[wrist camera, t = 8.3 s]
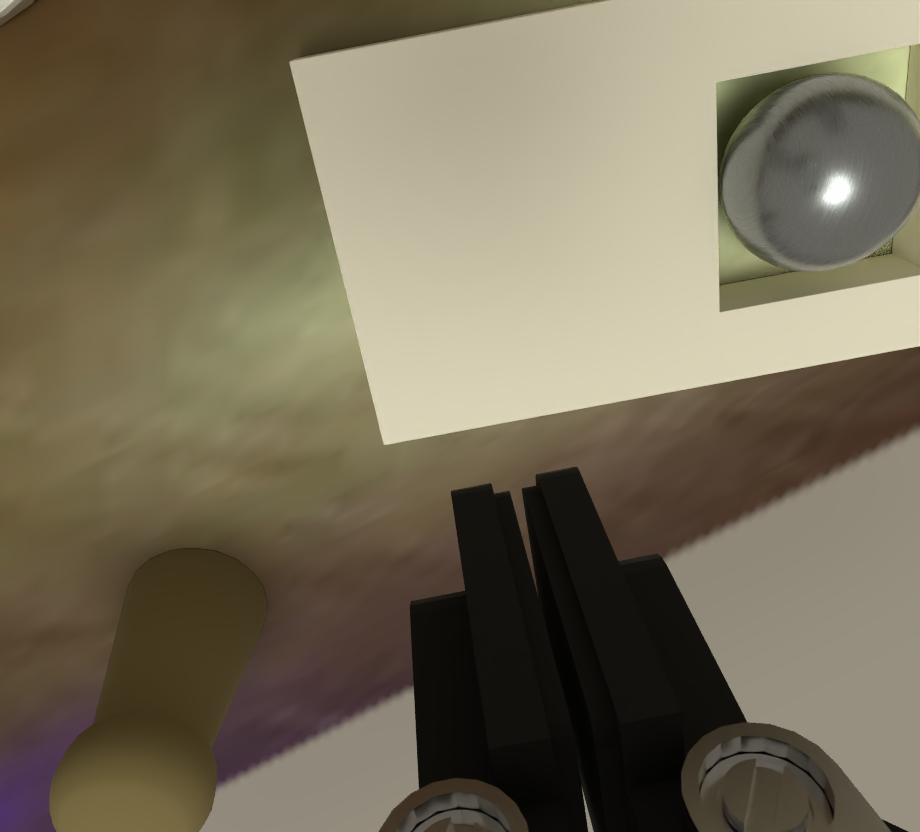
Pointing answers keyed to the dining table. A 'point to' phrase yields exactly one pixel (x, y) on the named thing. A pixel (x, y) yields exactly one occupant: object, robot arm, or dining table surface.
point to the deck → (578, 208)
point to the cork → (163, 698)
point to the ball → (822, 172)
